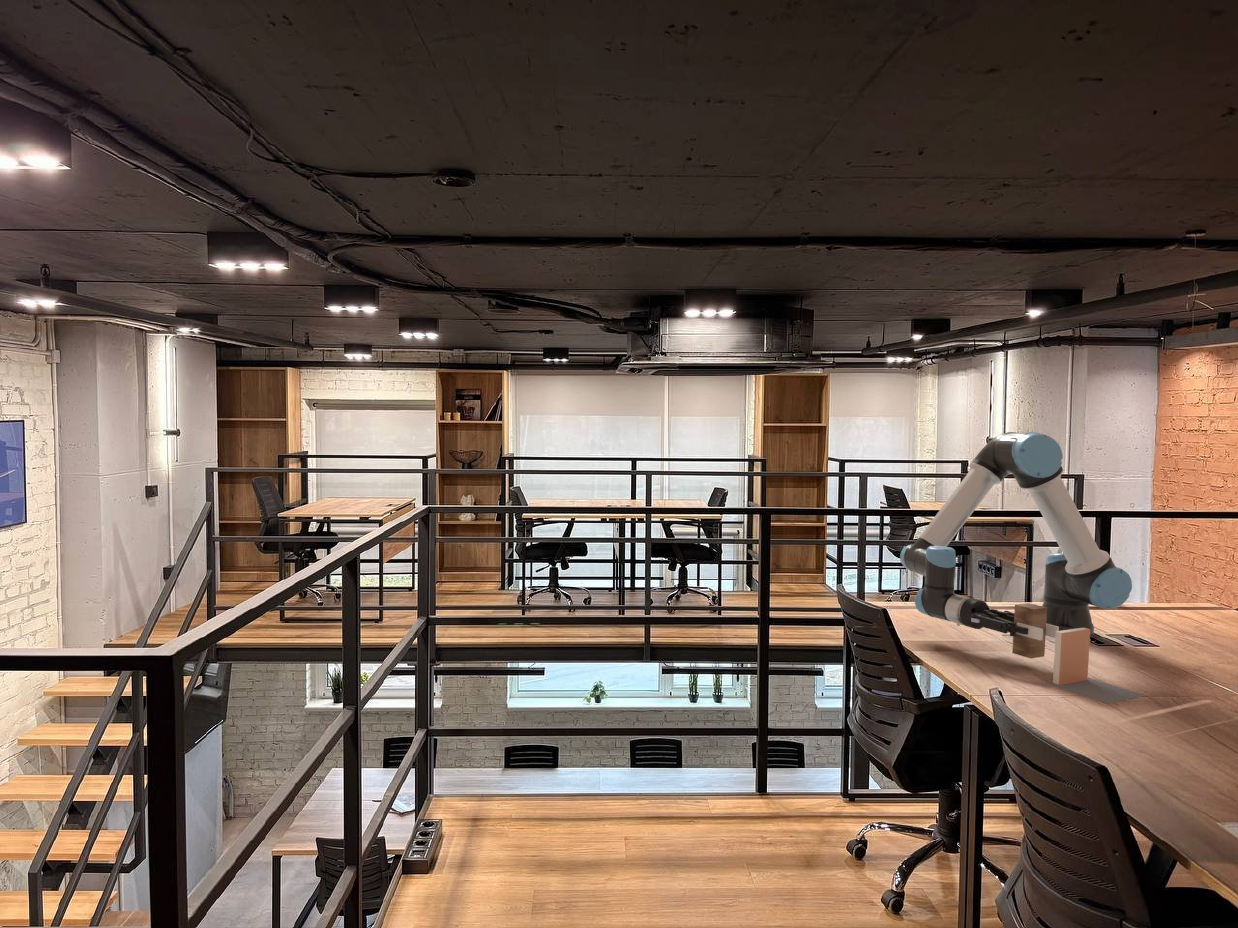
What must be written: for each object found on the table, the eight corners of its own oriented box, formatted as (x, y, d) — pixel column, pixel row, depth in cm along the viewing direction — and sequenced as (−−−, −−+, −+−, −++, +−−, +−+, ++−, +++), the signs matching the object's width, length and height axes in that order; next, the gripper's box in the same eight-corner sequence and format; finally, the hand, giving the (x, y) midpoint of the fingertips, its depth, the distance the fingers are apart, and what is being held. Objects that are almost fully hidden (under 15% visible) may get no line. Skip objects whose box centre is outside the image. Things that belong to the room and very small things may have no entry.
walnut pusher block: (1012, 652, 201) (1014, 604, 201) (1025, 650, 203) (1028, 602, 203) (1030, 658, 197) (1033, 609, 196) (1044, 656, 199) (1047, 607, 198)
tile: (1052, 682, 189) (1055, 631, 188) (1080, 677, 194) (1083, 627, 193) (1059, 684, 187) (1062, 633, 187) (1087, 679, 192) (1090, 629, 191)
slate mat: (1043, 685, 189) (1043, 682, 189) (1082, 678, 195) (1082, 675, 195) (1107, 706, 175) (1108, 703, 175) (1147, 697, 182) (1147, 695, 182)
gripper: (991, 622, 220) (1073, 645, 199) (943, 629, 212) (1023, 653, 191) (992, 595, 220) (1074, 614, 199) (944, 600, 211) (1025, 621, 191)
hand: (1049, 633), depth 195 cm, fingers closed on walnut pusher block, 5 cm apart
